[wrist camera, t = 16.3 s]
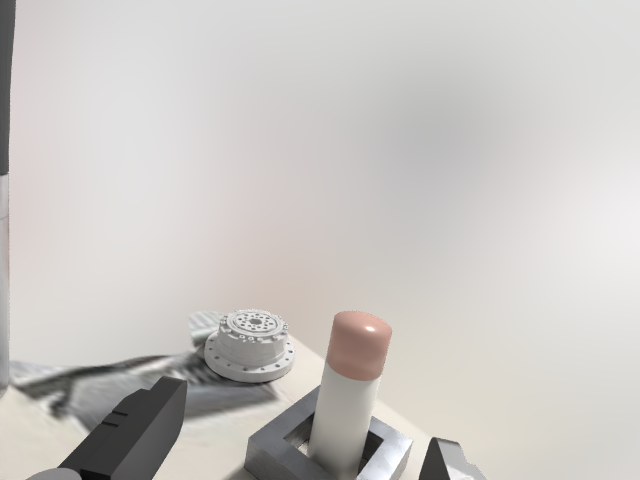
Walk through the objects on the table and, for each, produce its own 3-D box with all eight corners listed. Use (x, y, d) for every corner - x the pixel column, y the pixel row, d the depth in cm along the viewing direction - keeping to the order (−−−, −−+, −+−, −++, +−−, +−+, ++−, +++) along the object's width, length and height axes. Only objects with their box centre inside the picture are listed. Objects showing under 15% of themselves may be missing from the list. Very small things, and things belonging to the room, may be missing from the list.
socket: (244, 466, 25) (248, 437, 24) (315, 408, 32) (320, 384, 32) (350, 561, 20) (359, 527, 20) (405, 466, 28) (413, 440, 27)
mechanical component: (191, 378, 34) (292, 391, 34) (196, 337, 33) (299, 351, 34) (215, 330, 43) (294, 341, 44) (220, 297, 42) (300, 309, 43)
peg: (293, 468, 25) (323, 320, 23) (323, 438, 29) (352, 306, 26) (339, 504, 23) (376, 346, 21) (365, 467, 27) (400, 327, 24)
